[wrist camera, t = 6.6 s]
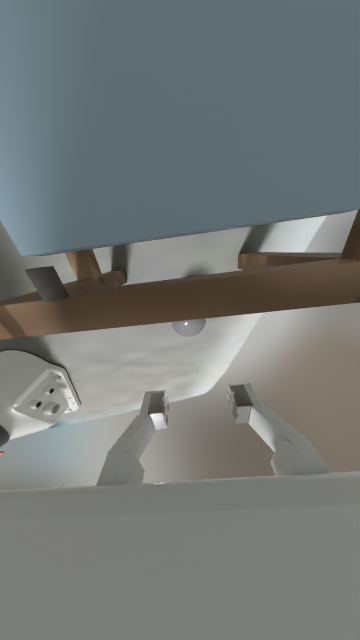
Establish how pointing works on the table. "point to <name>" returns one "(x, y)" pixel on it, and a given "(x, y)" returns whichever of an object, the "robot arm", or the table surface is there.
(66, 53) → the trapdoor
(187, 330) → the gray cylinder
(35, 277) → the stand
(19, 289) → the table surface
